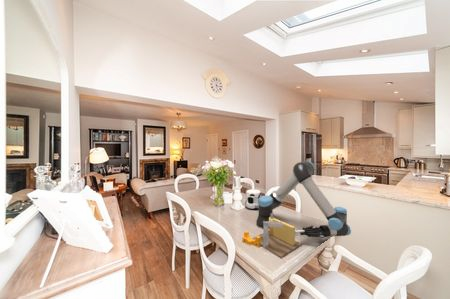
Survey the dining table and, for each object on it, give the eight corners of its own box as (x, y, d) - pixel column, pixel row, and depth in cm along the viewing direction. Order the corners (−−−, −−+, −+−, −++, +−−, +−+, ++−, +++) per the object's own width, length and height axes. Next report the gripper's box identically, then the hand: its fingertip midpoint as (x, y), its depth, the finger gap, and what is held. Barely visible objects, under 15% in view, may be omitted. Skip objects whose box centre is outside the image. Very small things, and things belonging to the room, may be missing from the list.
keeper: (263, 248, 116) (263, 222, 115) (263, 245, 119) (263, 220, 118) (282, 249, 114) (282, 224, 113) (281, 247, 117) (281, 222, 116)
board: (271, 230, 139) (271, 229, 139) (301, 245, 118) (301, 243, 118) (251, 240, 126) (251, 238, 126) (281, 258, 105) (281, 256, 105)
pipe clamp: (242, 242, 124) (242, 233, 124) (246, 239, 127) (246, 230, 127) (257, 248, 116) (257, 239, 115) (260, 246, 119) (260, 236, 119)
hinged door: (267, 233, 131) (267, 213, 131) (271, 231, 134) (271, 212, 133) (291, 246, 115) (291, 223, 114) (295, 243, 118) (295, 221, 117)
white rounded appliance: (251, 203, 200) (250, 188, 200) (264, 207, 189) (264, 190, 188) (242, 208, 187) (242, 191, 187) (256, 212, 176) (256, 194, 175)
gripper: (333, 241, 116) (300, 243, 114) (321, 231, 129) (290, 233, 127) (334, 230, 116) (300, 232, 113) (321, 221, 129) (290, 223, 126)
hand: (295, 233), depth 120 cm, fingers closed
